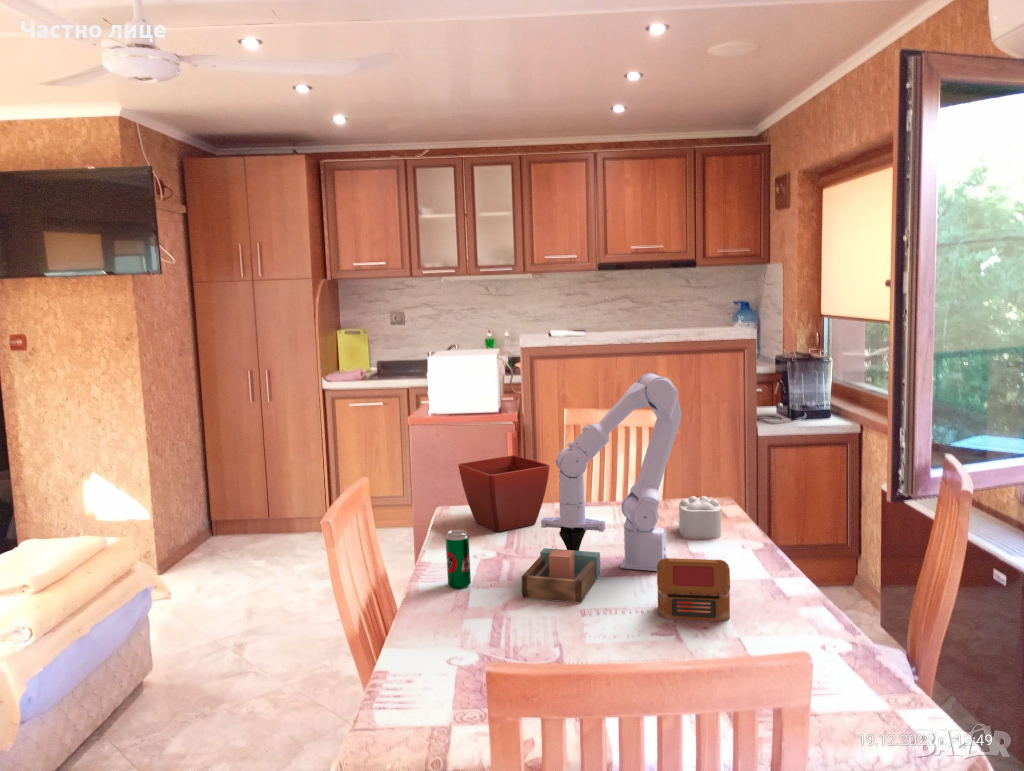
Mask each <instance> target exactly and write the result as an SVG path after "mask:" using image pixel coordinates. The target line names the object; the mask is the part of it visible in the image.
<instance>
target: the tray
mask: <svg viewBox="0 0 1024 771" xmlns="http://www.w3.org/2000/svg"><path fill="white" fill-rule="evenodd" d="M554 549H555V548H550V547H549V548H548V547H547V548H545V547H543V549H542V550H541V551H540V553H539V557H544V558H545V565H544V566H543V568H542V569H541V570H540V571H539V572H538V573H537V574H536V576H541V577H550V573H549V555H550V554H551V553H552V551H553V550H554ZM558 549H559V550H563V549H561V548H558ZM589 561H593V562H595V580H597V579H599V577H600V576H601V552H600V551H599V552H597V551H589V550H588V551H585V550H579V551H575V550H574V563H575V578H574V580H576V579H577V578H578V576H579V575H580V574H581V572H582V571H583V569H584V568H585V567H586V565H587V564H588V563H589Z"/></svg>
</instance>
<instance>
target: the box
mask: <svg viewBox="0 0 1024 771" xmlns="http://www.w3.org/2000/svg"><path fill="white" fill-rule="evenodd" d="M730 574H731V572H730V566H729V564H728V563H727V562H726V561H725V560H723V559H707V558H706V559H703V558H702V559H701V558H700V559H699V558H696V559H695V558H677V557H676V558H672V557H667V558H664V559H661V560H660V561H659V562H658V565H657V571H656V578H657V579H656V581H657V582H656V584H657V615H658V617H660V618H661V619H667V620H687V621H689V620H691V621H707V622H708V621H709V622H726V621H729V620H730V618H731V609H730V608H731V601H730V600H731V597H730V596H731V595H730V594H731V593H730V591H731V575H730Z"/></svg>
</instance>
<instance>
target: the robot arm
mask: <svg viewBox="0 0 1024 771" xmlns="http://www.w3.org/2000/svg"><path fill="white" fill-rule="evenodd" d="M648 407H650V408H651V410H652V412H653V413H654V415H655V417H656V420H655V423H654V426H653V430H652V432H651V436H650V439H649V442H648V445H647V448H646V451H645V455H644V457H643V461H642V464H641V468H640V469H639V473H638V476H637V479H636V482H635V483H634V484H632V486H631V488H630V490H629V492H628V494H627V496H626V497H625V498H624V499H623V501H622V502H621V512H622V514H623V516H624V517H625V522H624V523H623V536H624V537H623V542H624V543H623V545H624V559H623V561H622V562H621V564H620V569H624V570H625V569H626V570H636V571H648V572H649V571H650V572H657V565H658V562H659V561H660V560H661V559H664V558H668V557H667V532H666V529H665V528H662V527H658V526H656V525H657V523H658V521H659V512H658V509H659V504H660V496H659V495H660V494H659V488H660V486H661V484H662V479H663V477H664V474H665V470H666V468H667V465H668V461H669V458H670V455H671V451H672V449H673V446H674V443H675V439H676V436H677V434H678V430H679V427H680V424H681V420H682V415H683V414H682V411H681V406H680V400H679V391H678V389H677V388H676V386H675V385H674V383H673V382H672V380H670V378H667V377H665V376H660V375H657V374H656V373H652V372H651V373H650V372H647V373H645V374H643V375H642V376H640V377H639V378H638V380H637V381H635V382H634V383H632V384H631V385H630V386H629V388H628V389H627V390H626V391H625V392H624V393H623V395H622V396H621V397H620V398H619V399H618V400H617V402H616V403H615V404H614V405H613V406H612V407H611V408H610V409H609V411H607V413H606V414H605V415H604V416H603V417H602V418H601V420H600V421H599V422H596V423H589V424H588V426H586V425H584V426H583V427H582V428H581V431H582V432H581V433H579V435H578V436H576V438H575V439H574V440H573V441H572V442H570V441H569V442H568V443H567V444H566V446H567V447H566V448H563V449H561V450H560V451H559V452H558V454H557V458H556V460H555V464H556V466H557V468H558V469H559V470H558V471H559V472H558V477H559V478H558V479H559V481H558V494H559V496H558V498H559V499H558V502H559V516H555V517H554V516H553V517H552V516H551V517H545V516H544V517H542V518H541V519H540V525H541V526H540V527H541V529H546V528H552V529H553V528H554V529H555V528H556V529H557V528H558V529H559V537H560V539H562V540H561V541H562V542H563V544H564V545H565V548H566V550H575V551H580V547H581V545H582V541H583V539H584V537H585V535H586V532H587V531H596V532H597V531H598V532H599V533H600V532H601V533H603V532H605V531H606V521H604V520H597V519H591V518H587V517H586V504H585V502H586V500H585V498H586V496H585V481H584V473H585V472H586V470H587V466H588V462H590V461H591V460H592V459H594V457H595V456H596V455H597V454H598V453H599V452H600V451H601V450H602V449H603V448H604V447H605V446H606V445H607V444H608V443H609V442H610V433H611V432H612V431H613V430H614V429H615V428H616V427H617V426H618V425H620V423H622V422H623V421H624V420H625V419H626V418H627V417H628V416H629V415H631V414H632V412H634V411H635V410H637V409H645V408H648Z"/></svg>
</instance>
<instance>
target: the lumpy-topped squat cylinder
mask: <svg viewBox="0 0 1024 771" xmlns="http://www.w3.org/2000/svg"><path fill="white" fill-rule="evenodd" d="M678 518H679V519H678V523H679V524H678V527H679V528H678V529H679V534H680V535H681V537H683V538H686V539H691V540H694V539H696V540H697V539H699V540H700V539H705V540H706V539H707V540H715V539H719V538H721V536H722V522H721V521H722V507H721V505H720V501H719V500H718V499H717V498H713V499H709V498H708V496H706V495H702V496H700V497H697V496H695V495H692V496H690V497H689V498H682V499H681V500H680V502H679V504H678Z"/></svg>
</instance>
